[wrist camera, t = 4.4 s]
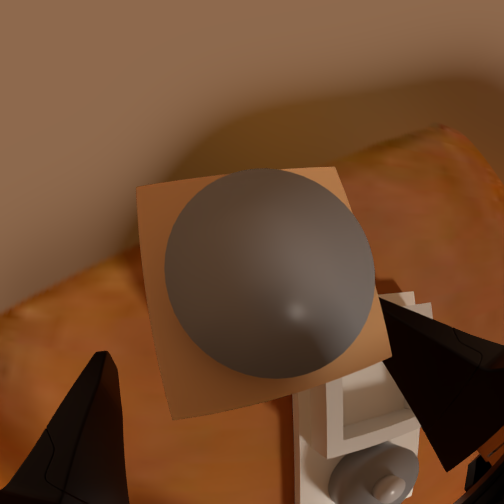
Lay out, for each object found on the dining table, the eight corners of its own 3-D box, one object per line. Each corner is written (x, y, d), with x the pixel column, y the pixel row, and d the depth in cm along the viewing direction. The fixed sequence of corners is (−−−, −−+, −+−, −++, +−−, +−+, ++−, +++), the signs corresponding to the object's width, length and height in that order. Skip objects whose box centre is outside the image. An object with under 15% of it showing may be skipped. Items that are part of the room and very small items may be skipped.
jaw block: (262, 351, 17) (416, 355, 4) (191, 365, 16) (167, 433, 3) (247, 283, 19) (349, 147, 6) (177, 295, 18) (128, 165, 5)
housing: (403, 491, 15) (437, 507, 11) (294, 528, 13) (316, 560, 9) (404, 294, 20) (444, 280, 16) (286, 302, 19) (313, 288, 14)
